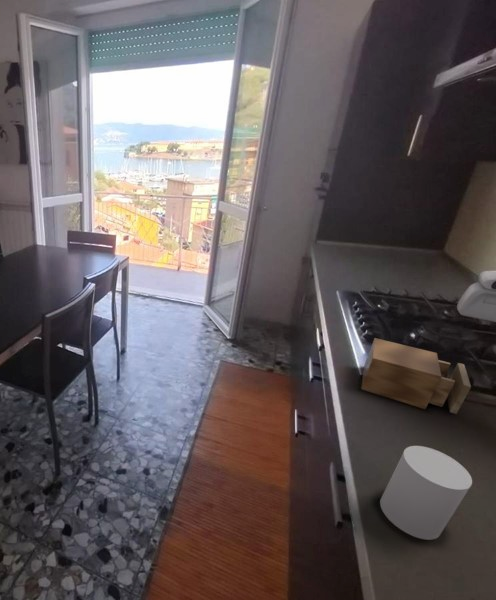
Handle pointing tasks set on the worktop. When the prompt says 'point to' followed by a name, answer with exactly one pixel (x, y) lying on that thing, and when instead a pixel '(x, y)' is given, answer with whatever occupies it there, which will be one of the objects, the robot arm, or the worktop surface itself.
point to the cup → (424, 492)
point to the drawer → (451, 387)
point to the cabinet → (401, 373)
